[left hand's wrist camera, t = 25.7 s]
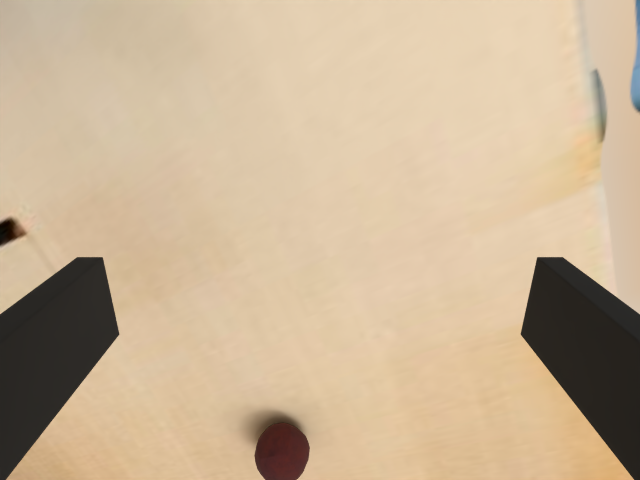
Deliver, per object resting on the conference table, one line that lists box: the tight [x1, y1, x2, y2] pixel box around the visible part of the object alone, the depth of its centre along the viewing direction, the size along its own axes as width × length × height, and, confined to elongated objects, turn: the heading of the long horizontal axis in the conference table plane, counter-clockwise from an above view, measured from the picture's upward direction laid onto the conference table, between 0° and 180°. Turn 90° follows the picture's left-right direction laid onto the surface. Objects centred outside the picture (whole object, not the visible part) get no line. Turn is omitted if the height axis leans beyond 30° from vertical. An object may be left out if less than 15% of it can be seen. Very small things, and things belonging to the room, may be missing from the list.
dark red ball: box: [255, 423, 310, 480], centre depth 56 cm, size 7×8×7 cm
